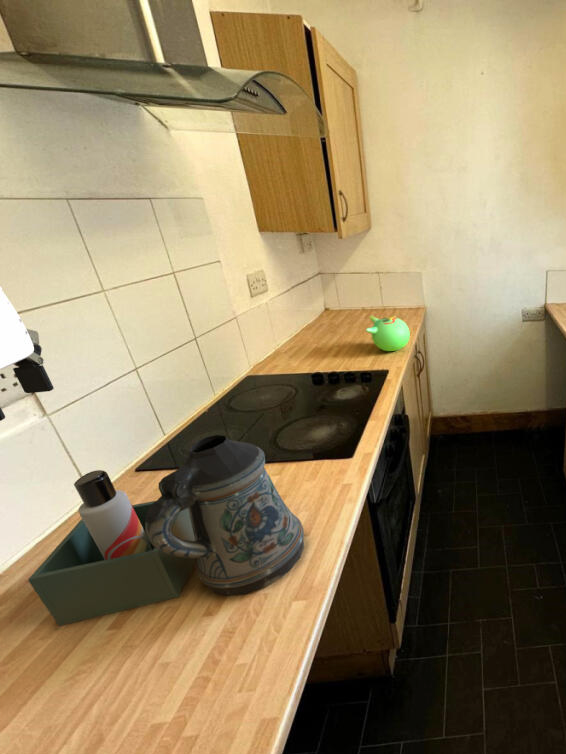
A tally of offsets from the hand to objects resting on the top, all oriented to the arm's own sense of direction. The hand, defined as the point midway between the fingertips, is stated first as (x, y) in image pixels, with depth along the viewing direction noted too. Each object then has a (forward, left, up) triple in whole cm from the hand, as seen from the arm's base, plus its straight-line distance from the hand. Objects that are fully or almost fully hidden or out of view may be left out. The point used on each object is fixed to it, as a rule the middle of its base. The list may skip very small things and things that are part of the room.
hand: (16, 405), depth 58 cm
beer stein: (+23, -6, -33) cm, 41 cm away
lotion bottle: (+5, -1, -33) cm, 33 cm away
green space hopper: (+54, +107, -33) cm, 124 cm away
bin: (+5, -2, -33) cm, 34 cm away
